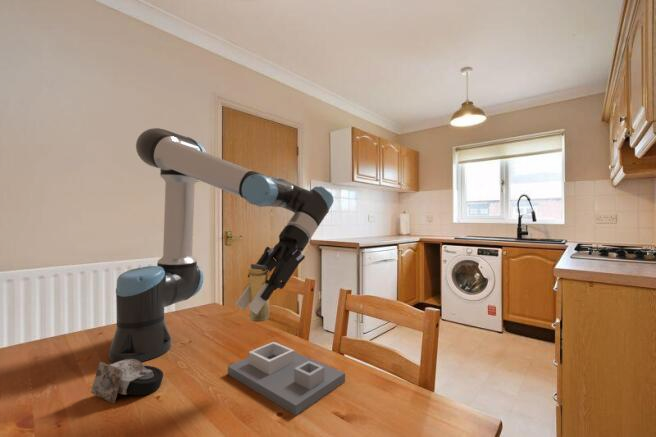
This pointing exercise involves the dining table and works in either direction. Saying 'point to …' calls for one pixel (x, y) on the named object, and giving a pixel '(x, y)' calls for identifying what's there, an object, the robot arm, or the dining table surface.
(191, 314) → the dining table surface
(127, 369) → the caster wheel
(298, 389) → the board
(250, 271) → the amber translucent cylinder
